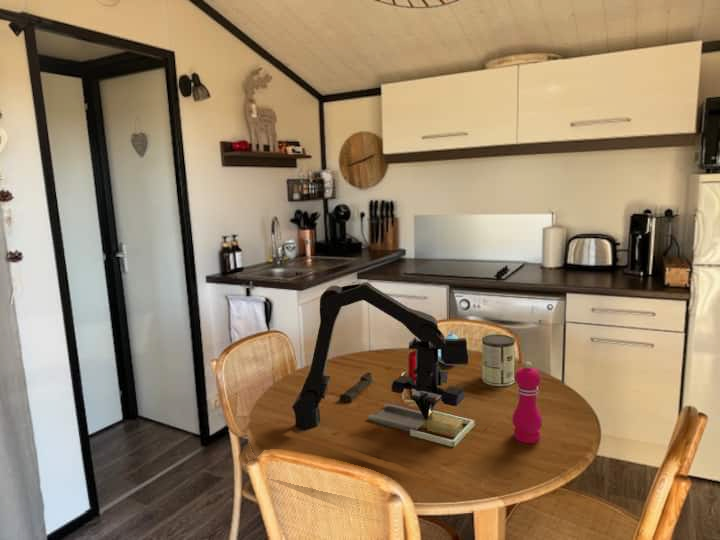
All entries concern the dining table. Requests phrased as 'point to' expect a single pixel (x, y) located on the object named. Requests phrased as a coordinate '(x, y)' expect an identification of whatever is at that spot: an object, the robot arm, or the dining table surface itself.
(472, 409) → the dining table surface
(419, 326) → the robot arm
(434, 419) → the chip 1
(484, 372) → the coffee can
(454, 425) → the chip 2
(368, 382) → the wooden stick
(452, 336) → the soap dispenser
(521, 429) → the pepper mill
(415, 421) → the slot rail
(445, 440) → the tray
